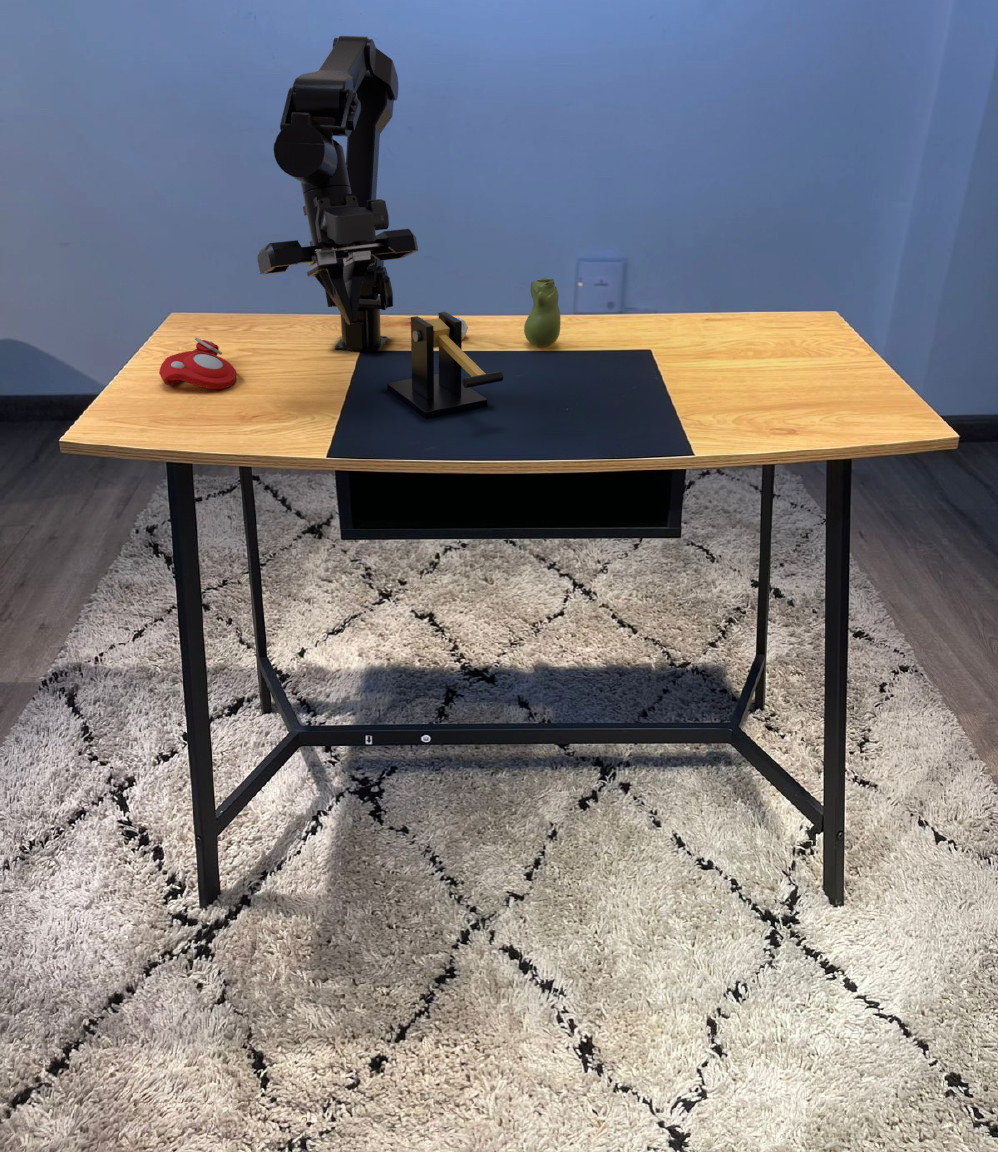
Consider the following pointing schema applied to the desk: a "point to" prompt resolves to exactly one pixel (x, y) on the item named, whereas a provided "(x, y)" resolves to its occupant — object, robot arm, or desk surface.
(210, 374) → the tracker holder
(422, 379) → the latch bracket
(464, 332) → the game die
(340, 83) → the robot arm
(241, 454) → the desk surface
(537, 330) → the green vase
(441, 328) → the latch lever
